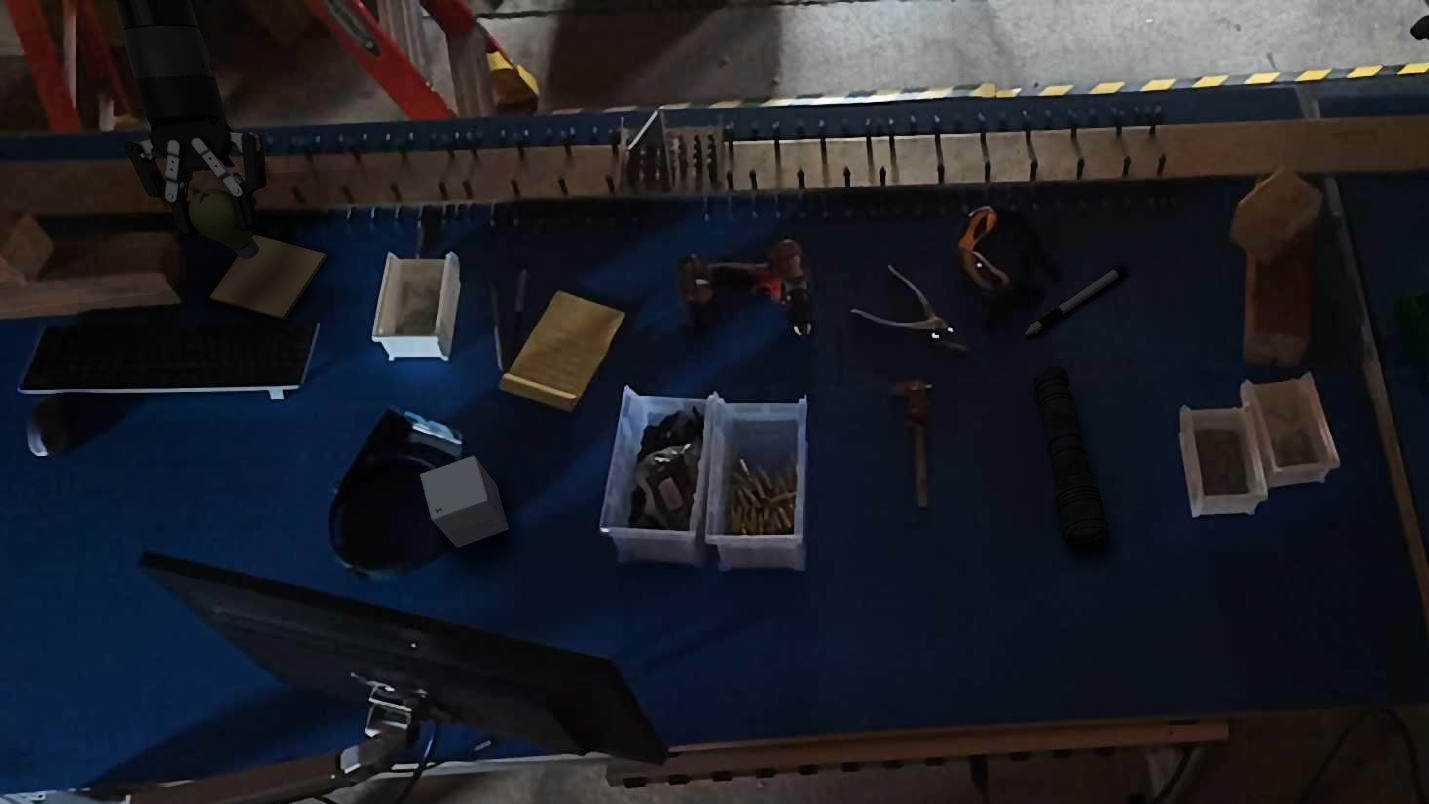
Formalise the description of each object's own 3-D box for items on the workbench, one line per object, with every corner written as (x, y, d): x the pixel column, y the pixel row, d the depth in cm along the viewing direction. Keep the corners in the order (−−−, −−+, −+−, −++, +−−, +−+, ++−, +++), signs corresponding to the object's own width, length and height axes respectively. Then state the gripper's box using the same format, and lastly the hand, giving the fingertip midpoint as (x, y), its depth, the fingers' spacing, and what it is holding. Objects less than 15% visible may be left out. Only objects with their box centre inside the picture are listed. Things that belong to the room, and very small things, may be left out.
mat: (212, 299, 137) (209, 296, 137) (256, 237, 142) (253, 234, 141) (285, 320, 136) (282, 317, 136) (327, 256, 140) (325, 253, 140)
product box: (511, 530, 125) (488, 501, 118) (456, 549, 124) (430, 521, 117) (498, 485, 127) (474, 453, 121) (444, 503, 126) (417, 473, 120)
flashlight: (1062, 548, 125) (1067, 529, 121) (1027, 390, 134) (1031, 367, 129) (1105, 542, 125) (1113, 523, 121) (1068, 385, 134) (1073, 362, 130)
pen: (1126, 274, 141) (1128, 268, 140) (1026, 342, 137) (1027, 336, 135) (1119, 267, 142) (1121, 261, 140) (1019, 335, 137) (1020, 329, 136)
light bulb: (231, 237, 136) (182, 180, 127) (278, 234, 136) (233, 176, 127) (224, 275, 134) (173, 219, 125) (272, 271, 134) (225, 215, 125)
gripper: (84, 78, 119) (136, 242, 125) (225, 67, 120) (270, 230, 126) (125, 80, 126) (173, 235, 132) (258, 70, 127) (299, 224, 133)
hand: (220, 232), depth 129 cm, fingers closed on light bulb, 5 cm apart
